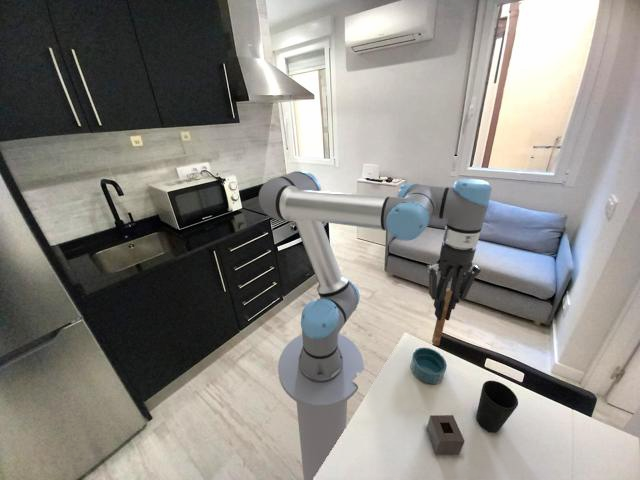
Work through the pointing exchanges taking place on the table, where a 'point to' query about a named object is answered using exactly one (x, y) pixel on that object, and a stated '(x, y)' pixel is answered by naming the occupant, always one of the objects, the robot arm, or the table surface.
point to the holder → (445, 435)
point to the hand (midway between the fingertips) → (441, 316)
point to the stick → (441, 322)
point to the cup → (495, 406)
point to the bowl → (428, 365)
